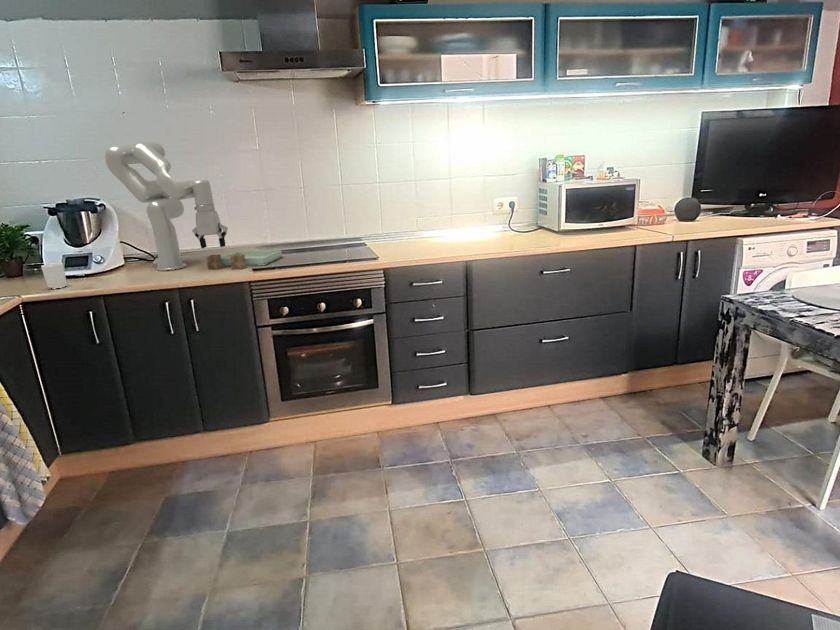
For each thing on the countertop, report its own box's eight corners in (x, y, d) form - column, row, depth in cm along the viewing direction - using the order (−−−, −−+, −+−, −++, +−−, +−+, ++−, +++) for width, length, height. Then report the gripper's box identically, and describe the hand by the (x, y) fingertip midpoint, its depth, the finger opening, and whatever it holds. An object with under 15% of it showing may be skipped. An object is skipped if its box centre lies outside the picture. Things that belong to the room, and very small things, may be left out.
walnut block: (208, 269, 258) (206, 256, 256) (213, 267, 262) (211, 254, 260) (217, 269, 257) (214, 256, 255) (222, 267, 261) (220, 254, 259)
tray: (217, 266, 264) (215, 258, 263) (237, 258, 281) (236, 251, 280) (264, 265, 258) (262, 258, 257) (282, 257, 275) (281, 250, 274)
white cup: (42, 289, 239) (36, 266, 236) (59, 285, 246) (54, 262, 243) (55, 290, 237) (49, 266, 234) (72, 285, 244) (67, 262, 241)
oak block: (232, 269, 255) (229, 256, 253) (237, 267, 259) (235, 254, 258) (241, 269, 254) (238, 256, 252) (246, 267, 258) (244, 254, 256)
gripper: (183, 211, 250) (191, 249, 255) (218, 208, 246) (225, 247, 251) (193, 209, 257) (201, 246, 262) (227, 206, 253) (235, 244, 258)
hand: (213, 247), depth 256 cm, fingers open, 9 cm apart
